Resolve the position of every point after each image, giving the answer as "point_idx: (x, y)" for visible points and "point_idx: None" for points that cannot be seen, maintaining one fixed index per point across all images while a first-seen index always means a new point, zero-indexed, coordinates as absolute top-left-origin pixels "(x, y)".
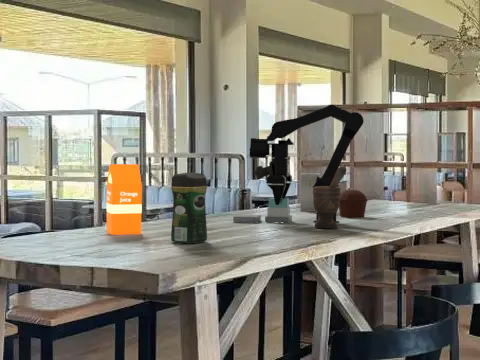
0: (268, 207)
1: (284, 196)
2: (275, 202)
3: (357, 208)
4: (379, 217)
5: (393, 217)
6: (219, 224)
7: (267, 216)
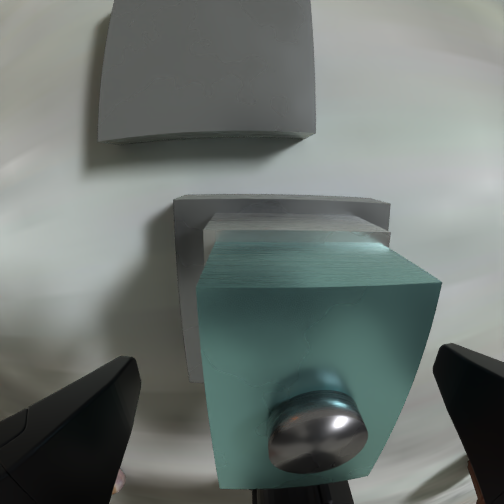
0: (209, 242)
1: (460, 428)
2: (101, 370)
3: (475, 483)
4: (462, 483)
5: (455, 495)
6: (29, 4)
7: (197, 217)
